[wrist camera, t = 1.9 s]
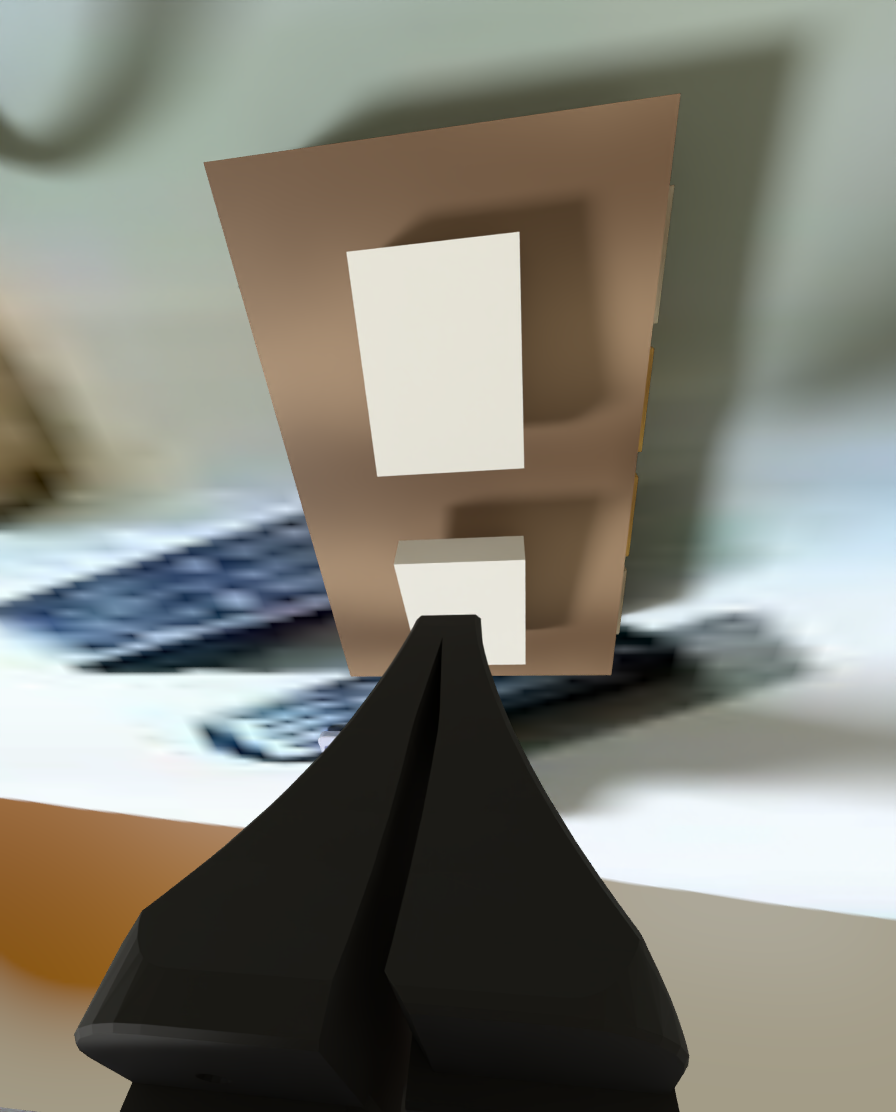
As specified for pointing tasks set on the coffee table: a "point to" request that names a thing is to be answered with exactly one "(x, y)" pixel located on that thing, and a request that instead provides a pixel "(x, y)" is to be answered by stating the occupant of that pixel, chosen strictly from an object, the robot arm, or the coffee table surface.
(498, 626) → the block
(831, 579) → the coffee table surface
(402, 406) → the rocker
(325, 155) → the switch box
